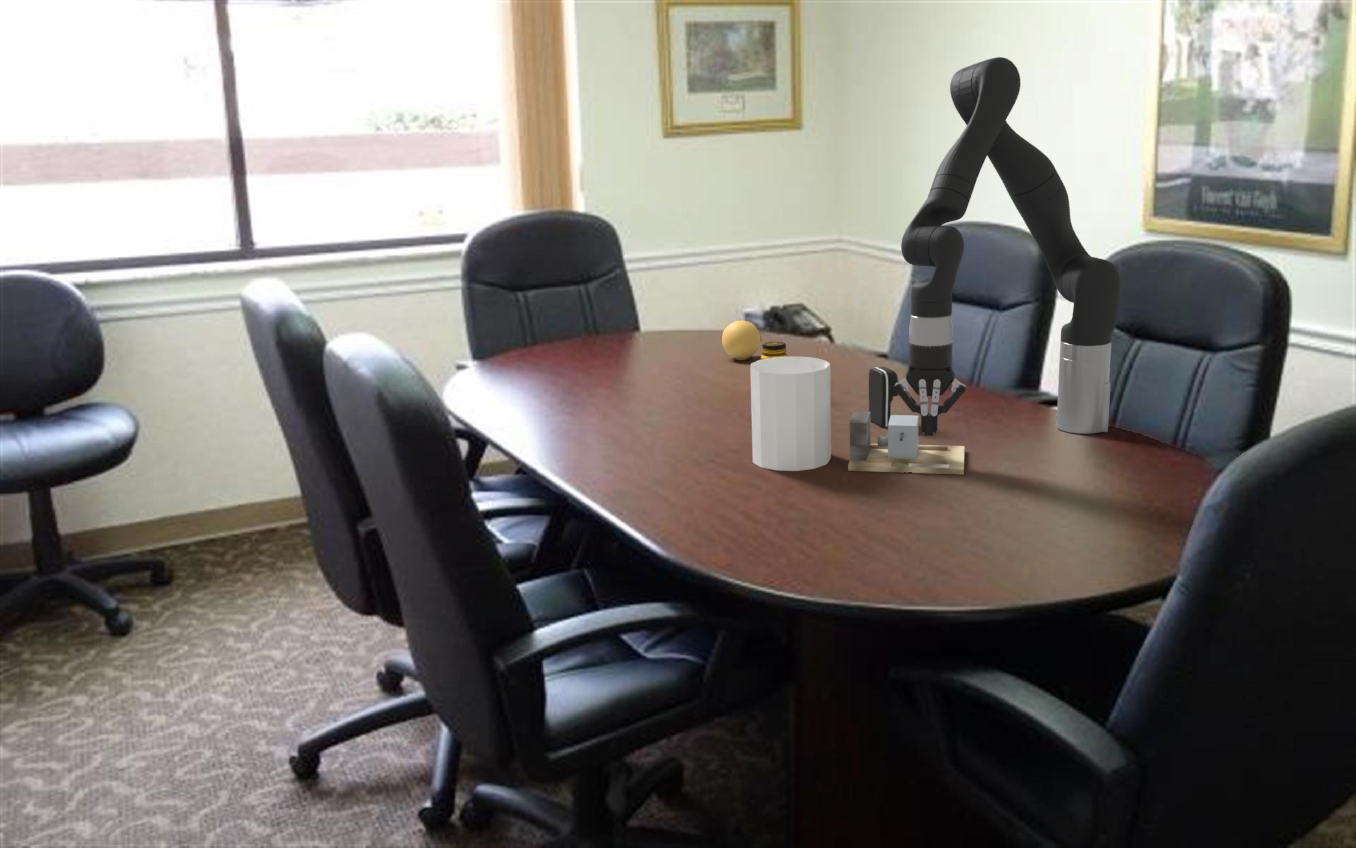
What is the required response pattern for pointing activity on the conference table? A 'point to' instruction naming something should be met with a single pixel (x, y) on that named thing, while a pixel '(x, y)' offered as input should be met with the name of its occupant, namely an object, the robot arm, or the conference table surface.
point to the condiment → (773, 350)
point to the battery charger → (881, 394)
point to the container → (790, 413)
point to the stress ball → (741, 339)
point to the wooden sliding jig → (877, 459)
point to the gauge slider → (901, 437)
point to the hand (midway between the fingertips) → (929, 434)
